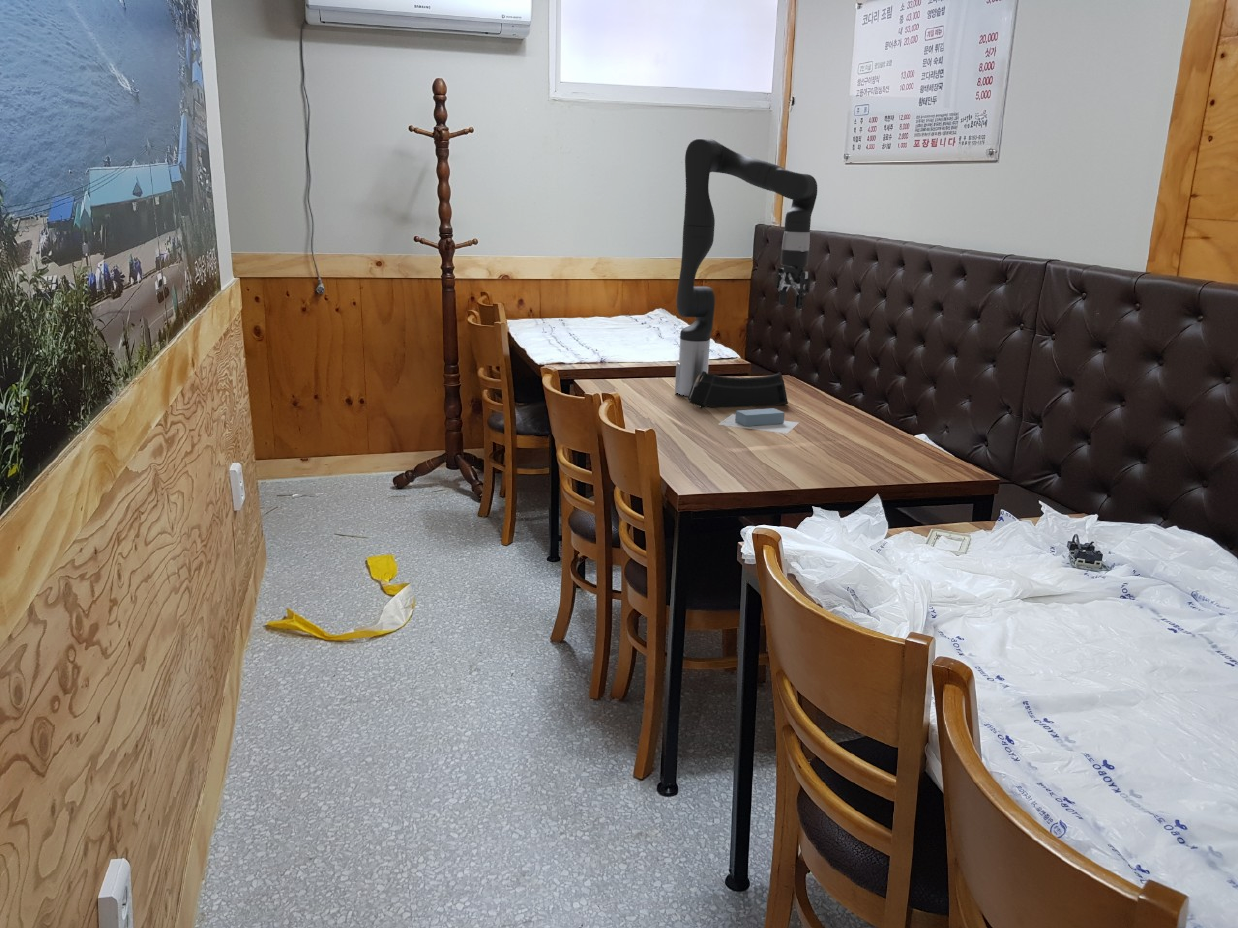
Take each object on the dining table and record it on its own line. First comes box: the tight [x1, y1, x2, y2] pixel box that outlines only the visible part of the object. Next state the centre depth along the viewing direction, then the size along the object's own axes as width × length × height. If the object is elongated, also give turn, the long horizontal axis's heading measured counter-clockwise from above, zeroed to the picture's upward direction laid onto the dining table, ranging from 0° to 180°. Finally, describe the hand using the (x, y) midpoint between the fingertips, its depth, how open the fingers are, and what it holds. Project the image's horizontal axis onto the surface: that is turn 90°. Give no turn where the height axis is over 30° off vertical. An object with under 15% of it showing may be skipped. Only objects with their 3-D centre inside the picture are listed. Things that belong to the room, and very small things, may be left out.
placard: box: [735, 407, 786, 426], centre depth 241 cm, size 3×6×12 cm
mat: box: [717, 413, 800, 435], centre depth 241 cm, size 19×14×1 cm
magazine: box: [687, 371, 789, 410], centre depth 260 cm, size 17×3×30 cm
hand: (790, 306), depth 253 cm, fingers open, 8 cm apart
